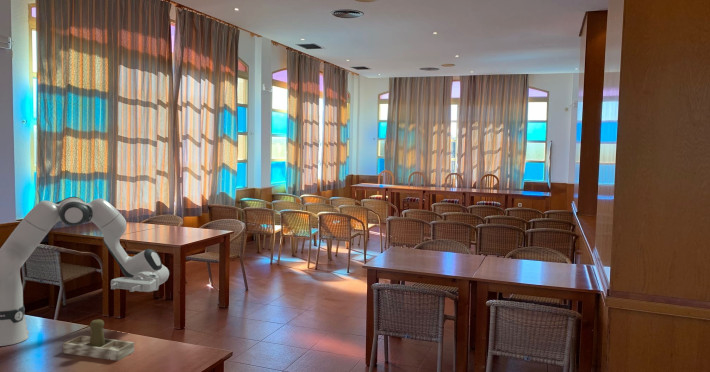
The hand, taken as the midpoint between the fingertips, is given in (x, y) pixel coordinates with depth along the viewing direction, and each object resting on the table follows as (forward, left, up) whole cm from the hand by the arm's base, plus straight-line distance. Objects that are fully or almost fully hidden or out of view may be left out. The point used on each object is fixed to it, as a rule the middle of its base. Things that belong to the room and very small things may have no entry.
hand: (121, 288), depth 220 cm
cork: (+2, -16, -20) cm, 26 cm away
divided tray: (+3, -16, -22) cm, 27 cm away
